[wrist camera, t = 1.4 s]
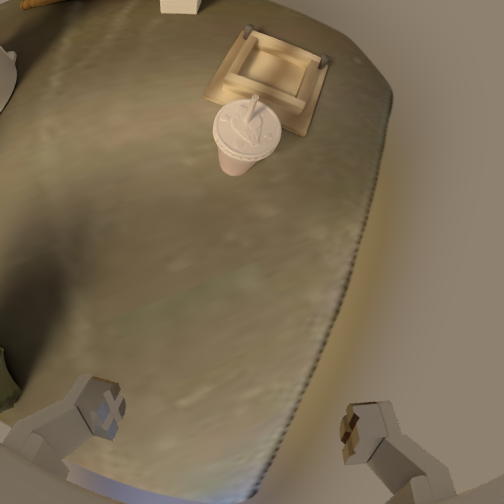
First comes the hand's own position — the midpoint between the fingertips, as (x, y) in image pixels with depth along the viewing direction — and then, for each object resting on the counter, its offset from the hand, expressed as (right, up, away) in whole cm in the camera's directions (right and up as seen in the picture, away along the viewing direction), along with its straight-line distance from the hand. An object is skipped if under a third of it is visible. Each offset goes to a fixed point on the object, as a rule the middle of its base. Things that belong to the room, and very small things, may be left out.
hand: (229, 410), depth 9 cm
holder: (+3, +29, +28) cm, 40 cm away
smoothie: (-1, +16, +26) cm, 31 cm away
